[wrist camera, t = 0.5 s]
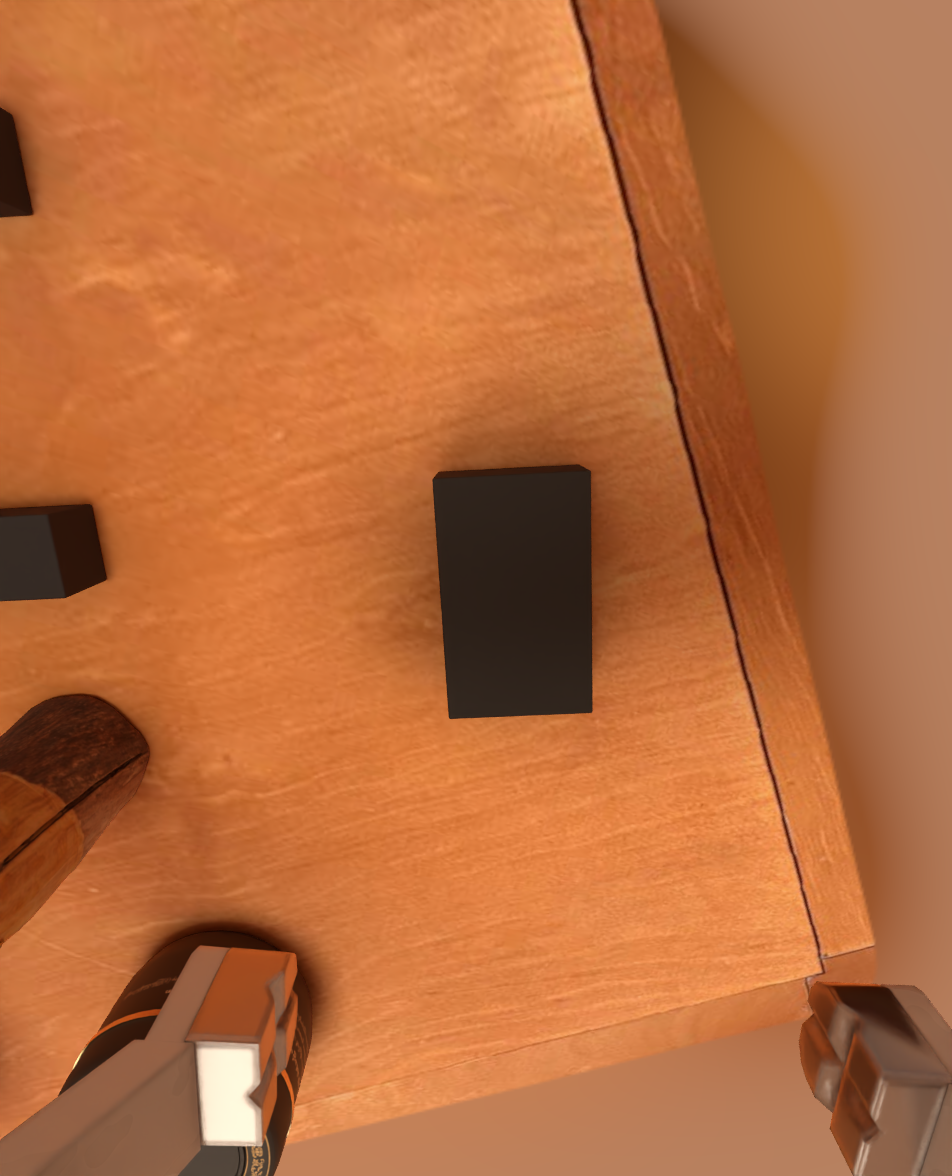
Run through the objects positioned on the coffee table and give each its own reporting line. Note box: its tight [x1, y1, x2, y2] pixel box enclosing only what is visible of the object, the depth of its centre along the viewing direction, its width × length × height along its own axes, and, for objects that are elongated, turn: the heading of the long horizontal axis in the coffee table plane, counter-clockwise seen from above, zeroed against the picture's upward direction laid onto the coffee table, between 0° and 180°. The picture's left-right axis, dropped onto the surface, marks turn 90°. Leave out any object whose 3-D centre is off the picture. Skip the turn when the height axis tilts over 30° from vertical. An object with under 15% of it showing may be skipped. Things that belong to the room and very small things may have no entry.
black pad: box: [433, 465, 592, 719], centre depth 27 cm, size 10×6×3 cm, turn 3°
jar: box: [58, 931, 312, 1176], centre depth 31 cm, size 10×10×8 cm
